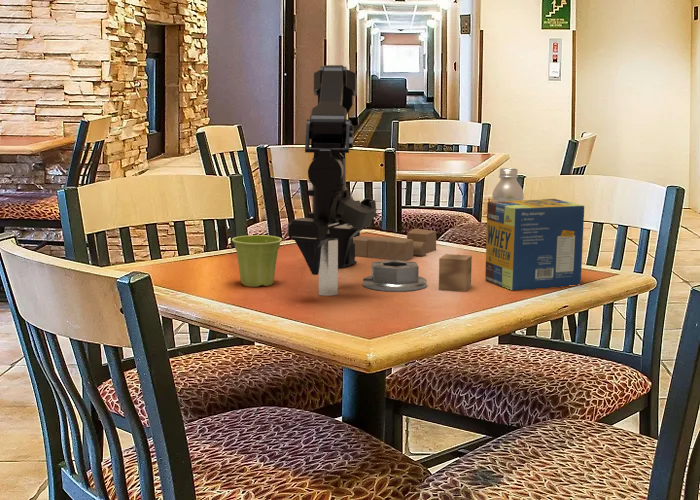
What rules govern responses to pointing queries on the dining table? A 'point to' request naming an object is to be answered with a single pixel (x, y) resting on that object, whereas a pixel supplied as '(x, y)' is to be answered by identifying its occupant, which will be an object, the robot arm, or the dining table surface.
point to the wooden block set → (396, 245)
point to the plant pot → (257, 258)
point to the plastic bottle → (508, 186)
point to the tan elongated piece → (329, 268)
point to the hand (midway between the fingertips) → (328, 270)
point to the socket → (395, 276)
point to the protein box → (534, 243)
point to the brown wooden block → (455, 272)
